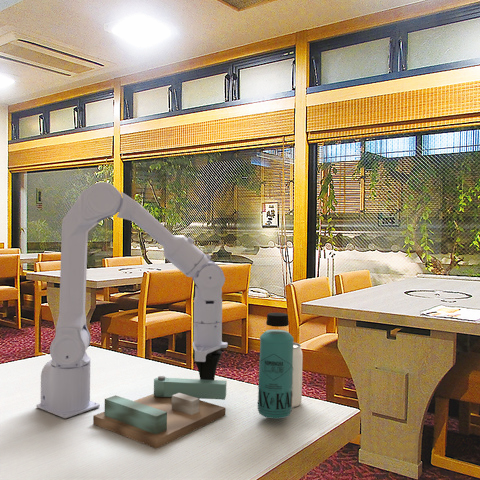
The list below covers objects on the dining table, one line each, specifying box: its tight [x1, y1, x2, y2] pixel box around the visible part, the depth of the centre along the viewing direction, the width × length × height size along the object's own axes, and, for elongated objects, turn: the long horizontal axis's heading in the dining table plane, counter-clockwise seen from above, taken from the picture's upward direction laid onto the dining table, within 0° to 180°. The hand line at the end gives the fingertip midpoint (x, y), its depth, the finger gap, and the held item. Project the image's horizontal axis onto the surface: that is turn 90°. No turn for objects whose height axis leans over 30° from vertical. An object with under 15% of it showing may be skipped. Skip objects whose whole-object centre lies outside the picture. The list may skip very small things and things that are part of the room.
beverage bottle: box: [256, 312, 295, 419], centre depth 92 cm, size 6×7×20 cm
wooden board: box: [92, 393, 227, 450], centre depth 92 cm, size 16×18×4 cm
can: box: [291, 341, 304, 409], centre depth 101 cm, size 6×6×12 cm
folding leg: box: [153, 375, 227, 401], centre depth 99 cm, size 14×3×4 cm, turn 85°
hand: (207, 387), depth 101 cm, fingers closed
